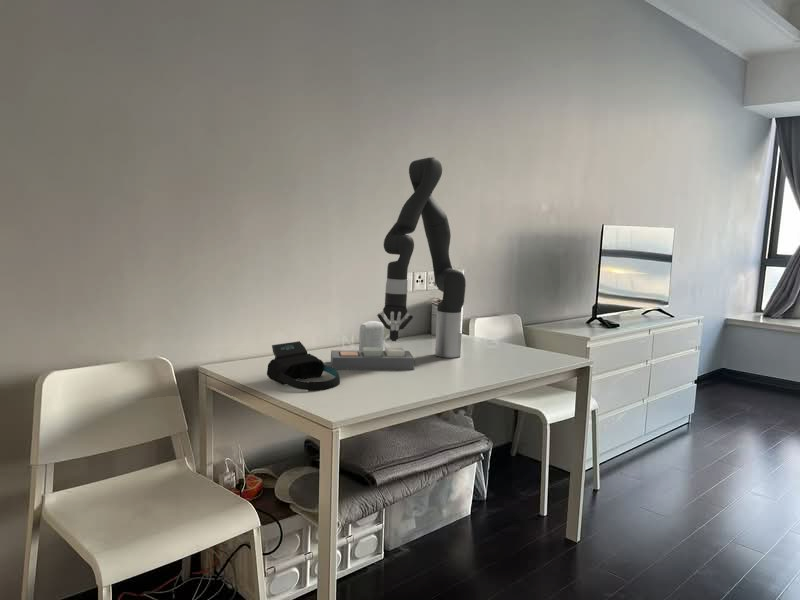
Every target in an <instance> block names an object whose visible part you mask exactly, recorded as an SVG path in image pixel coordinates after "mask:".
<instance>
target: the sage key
mask: <svg viewBox="0 0 800 600" xmlns="http://www.w3.org/2000/svg"><path fill="white" fill-rule="evenodd" d="M363 356H382V351H381V349H380V348H377V347H363Z"/></svg>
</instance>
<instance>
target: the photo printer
mask: <svg viewBox="0 0 800 600" xmlns="http://www.w3.org/2000/svg"><path fill="white" fill-rule="evenodd" d="M384 328H385V326H384V325H383V323H382V322H381V321H378V320H369V321H366V322H364V323H363V322H362V324H360V326H359V337H358V338H359V342H358V344H359V345H358V351H363V347H377V348H380V349H381V351H384V335H385V334H384V333H385V329H384Z"/></svg>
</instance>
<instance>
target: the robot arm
mask: <svg viewBox="0 0 800 600" xmlns="http://www.w3.org/2000/svg"><path fill="white" fill-rule="evenodd" d="M442 173H443V165H442V163H441V161H440V160H439V159H438V158H436V157H433V156H431V157H430V156H429V157H424V158H420V159H416V160H413V161H411V163H410V164H409V167H408V174H409V179H410V183H411V185H412V186H411V187H412V189H413V192H412V194H411V195H410V196H409V198H408V199H407V200H406V201H405V203H404V204H403V206H402V207H401V210H400V212H399V214H398V217H397V220H396V222H395V223H394V224H393V226H392V227H391V228H390V230H389V231H388V232H387V233H386V235H385V238H384V239H383V248H384V251H385V252H386V253H387V254H389V255H399V257H398V259H397V260H394V261H389V263H387V271H386V272H387V273H386V283H385V294H384V295H385V296H384V306H383V309H382V311H381V312H380V313H377V315H376V316H377V318H378V319H379V321H380V322H381V323H383V326H384V328H385V329H387V330H389V339H390V341H391V342H397V340H399V331H400V330H403V329H405V328H406V326H407V325H408V324H409V323H410V322H411V320H413V318H414V316H413V315H412V314H410V313H409V312H408V308H407V300H408V299H407V298H408V268H409V264H410V261H411V258H412V256H413V252H414V249H415V241H414V238H413V237H412V236H411V235H409V234H412V233H414V232H415V231H416V228H417V226H418V223H419V220H420V217H421V219H422V223H423V224H422V225H423V229H424V233H425V237H426V240H427V244H428V248H429V253H430V256H431V257H430V258H431V263H432V268H433V269H432V270H433V279H434V284H435V285H436V288H437V289H438V290H439V291H440V292H443V293H442V300H441V301H439V302H438V303H437V307H436V311H437V312H436V327H435V328H436V329H435V330H436V331H435V348H434V349H435V350H434V352H435V353H434V355H435V356H437V357H440V358H458V357H459V358H460V357H461V353H462V352H461V351H462V333H463V332H462V331H461V327H462V310H463V309H462V308H463V306H464V305H465V304H464V302H465V297H466V285H467V284H466V278H465V275H464V273H463V272H462V271H461V270H458V269H453V267H452V263H451V262H452V261H451V259H450V253H449V252H450V245H451V228H450V224H449V223H450V222H449V220H448V215H447V214H446V213H445V211H444V210H443V209H442V207H441V206H440V205H439V204H438V202H437V201H436V200H435V198H434V197H433V195H432V194H433V192H434V190H435V188H436V186H438V183H439V182H440V180H441V178H442V176H443V175H442ZM385 316H386V318H387V320H389V321H388V322H389V324H388V323H387V321H386V320H385V319H384V318H385ZM403 318H404V320H403ZM402 320H403V321H402ZM401 321H402V323H401ZM400 323H401V324H400Z"/></svg>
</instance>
